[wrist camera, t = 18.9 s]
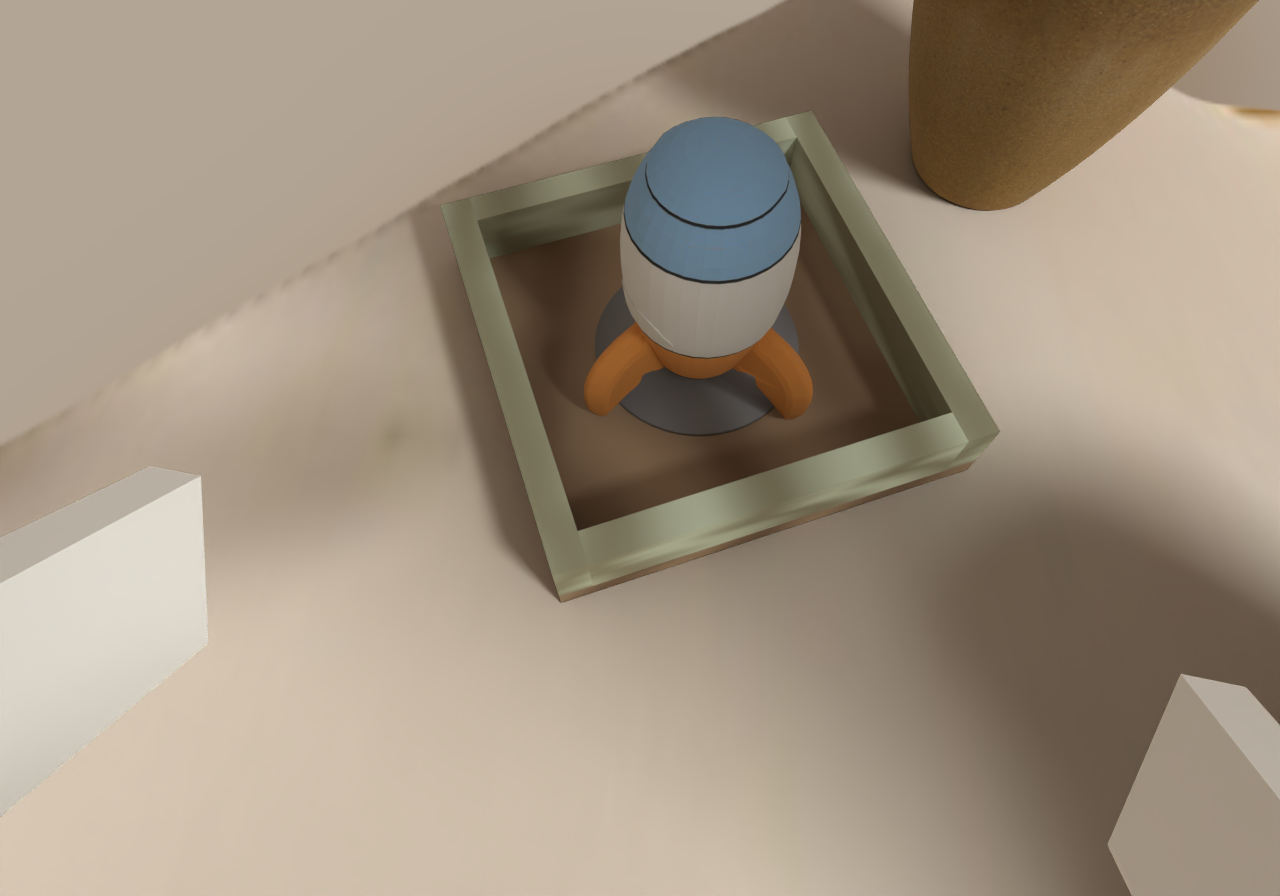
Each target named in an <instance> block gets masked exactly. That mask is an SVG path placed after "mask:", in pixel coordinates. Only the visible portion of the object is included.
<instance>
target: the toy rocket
mask: <svg viewBox="0 0 1280 896" xmlns="http://www.w3.org/2000/svg"><path fill="white" fill-rule="evenodd" d="M800 239H801V208H800V199H799V194H798V191H797V187H796V184H795V180H794V177H793V174H792V171H791V169H790V167H789V165H788V163H787V160H786V157H785V155H784V153H783V152H782V150H781V148H780V147H779V146H778V144H777V143H776V142H775V141H774V140H773V139H772V138H771V137H770V136H768V135H767V134H766V133H765V132H763V131H762V130H760V129H758V128H756V127H754V126H752V125H750V124H748V123H745V122H742V121H739V120H736V119H731V118H726V117H706V118H699V119H695V120H691V121H687V122H684V123H682V124H679V125H677V126H675V127H673V128H671V129H670V130H668V131H667V132H665V133H664V134H663V135H662V136H661V138H660V139H659V140H658V141H657V143H656V144H655V145H654V146H653V148H652V149H651V150H650V151H649V152H648V153H647V154H646V156H645V157H644V159H643V160H642V162H641V164H640V165H639V167H638V169H637V171H636V172H635V174H634V176H633V178H632V181H631V184H630V187H629V190H628V192H627V195H626V198H625V201H624V207H623V212H622V221H621V233H620V256H621V268H622V275H623V279H622V285H623V290H624V295H625V300H626V303H627V306H628V308H629V311H630V313H631V315H632V316H633V318H634V320H635V323H634V324H633V325H632V326H630V327H629V328H628V329H627V330H626V331H624V332H623V333H622V334H621V335H620V336H618V337H617V338H616V339H615V340H614V341H613V342H612V343H611V344H610V345H609V346H608V347H607V348H606V350H605V351H604V352H603V353H602V354H601V355H600V357H599V358H598V359H597V361H596V362H595V363H594V365H593V366H592V368H591V370H590V372H589V373H588V376H587V379H586V382H585V385H584V399H585V402H586V405H587V408H588V409H589V410H590V411H592V412H593V413H595V414H596V415H599V416H606V415H607V414H608V413H609V412H610V411H611V410H612V409H613V408H614V407H615V406H616V405H617V404H618V403H619V402H620V401H621V400H622V399H623V398H624V397H625V396H626V395H627V394H628V393H629V392H630V391H632V390H633V389H634V388H635V387H636V386H637V385H638V384H639V383H640V381H641V379H642V376H643V375H644V374H645V373H648V372H650V371H654V370H660V369H661V368H663V367H666V368H667V369H669V370H670V371H672V372H673V373H676V374H678V375H681V376H683V377H685V378H689V379H698V380H699V379H705V378H712V377H715V376H718V375H721V374H723V373H725V372H727V371H729V370H731V369H732V368H734V369H735V370H737V371H739V372H745V373H748V374H750V375H752V376H754V377H755V379H756V385H757V387H758V388H759V389H760V390H761V392H762V393H763V394H764V395H765V396H766V397H767V398H768V399H769V400H770V401H771V403H772V404H773V405H774V406H775V408H776V409H777V410H778V411H779V413H780V414H781V415H782V416H783V418H784V419H785V420H792V419H795V418H797V417H799V416H801V415H803V414H804V413H805V411H806V410H807V408H808V406H809V405H810V403H811V401H812V395H813V385H812V380H811V377H810V375H809V372H808V370H807V367H806V366H805V364H804V363H803V361H802V359H801V358H800V356H799V355H798V354H797V353H796V352H795V350H794V349H793V348H792V347H791V346H790V345H789V344H788V343H787V342H786V341H785V340H784V339H783V338H782V337H781V336H780V335H779V334H778V333H776V332H775V331H774V330H773V329H772V328H771V327H772V325H773V324H774V323H775V321H776V319H777V317H778V315H779V313H780V311H781V309H782V307H783V304H784V302H785V300H786V298H787V296H788V293H789V290H790V287H791V284H792V280H793V277H794V272H795V268H796V263H797V259H798V254H799V248H800Z"/></svg>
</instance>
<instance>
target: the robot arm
mask: <svg viewBox="0 0 1280 896" xmlns="http://www.w3.org/2000/svg"><path fill="white" fill-rule="evenodd" d="M207 644H208V624H207V602H206V579H205V556H204V534H203V511H202V488H201V476H200V475H195V474H190V473H185V472H180V471H175V470H170V469H165V468H160V467H155V466H149V467H147V468H145V469H143V470H140V471H138V472H136V473H134V474H132V475H130V476H128V477H126V478H124V479H122V480H119V481H117V482H115V483H113V484H111V485H109V486H107V487H105V488H103V489H101V490H99V491H96V492H94V493H92V494H90V495H88V496H86V497H84V498H82V499H80V500H78V501H75V502H73V503H71V504H69V505H67V506H65V507H63V508H61V509H59V510H57V511H55V512H52V513H50V514H48V515H46V516H44V517H42V518H40V519H38V520H36V521H34V522H31V523H29V524H27V525H25V526H23V527H21V528H19V529H17V530H15V531H13V532H11V533H8V534H6V535H4V536H2V537H0V817H1V816H3V815H4V814H5V813H6V812H7V811H8V810H10V809H11V808H12V807H13V806H14V805H16V804H17V803H18V802H19V801H20V800H22V799H23V798H24V797H25V796H26V795H28V794H29V793H30V792H31V791H32V790H34V789H35V788H36V787H37V786H38V785H40V784H41V783H42V782H43V781H44V780H46V779H47V778H48V777H49V776H50V775H52V774H53V773H54V772H55V771H56V770H58V769H59V768H60V767H61V766H62V765H63V764H65V763H66V762H67V761H68V760H69V759H71V758H72V757H73V756H74V755H75V754H77V753H78V752H79V751H80V750H81V749H83V748H84V747H85V746H86V745H87V744H89V743H90V742H91V741H92V740H93V739H95V738H96V737H97V736H98V735H99V734H101V733H102V732H103V731H104V730H105V729H107V728H108V727H109V726H110V725H111V724H112V723H114V722H115V721H116V720H117V719H118V718H120V717H121V716H122V715H123V714H124V713H126V712H127V711H128V710H129V709H130V708H132V707H133V706H134V705H135V704H136V703H138V702H139V701H140V700H141V699H142V698H144V697H145V696H146V695H147V694H148V693H150V692H151V691H152V690H153V689H154V688H156V687H157V686H158V685H159V684H160V683H162V682H163V681H164V680H165V679H166V678H167V677H169V676H170V675H171V674H172V673H173V672H175V671H176V670H177V669H178V668H179V667H181V666H182V665H183V664H184V663H185V662H187V661H188V660H189V659H190V658H191V657H193V656H194V655H195V654H196V653H197V652H199V651H200V650H201V649H202V648H203V647H205V646H206V645H207ZM1107 845H1108V848H1109V850H1110V852H1111V854H1112V856H1113V858H1114V860H1115V862H1116V864H1117V866H1118V868H1119V870H1120V872H1121V875H1122V877H1123V879H1124V881H1125V883H1126V885H1127V887H1128V889H1129V891H1130V893H1131V895H1132V896H1280V725H1279V724H1278V722H1277V721H1276V720H1275V719H1274V718H1273V717H1272V716H1271V715H1270V713H1269V712H1268V711H1267V710H1266V709H1265V708H1264V707H1263V706H1262V705H1261V703H1260V702H1259V701H1258V700H1257V699H1256V698H1255V697H1254V696H1253V694H1252V693H1251V692H1250V691H1249V690H1248V689H1247V688H1246V687H1244V686H1239V685H1234V684H1229V683H1224V682H1219V681H1214V680H1209V679H1204V678H1199V677H1194V676H1189V675H1184V674H1180V677H1179V679H1178V681H1177V684H1176V686H1175V688H1174V691H1173V693H1172V695H1171V697H1170V700H1169V702H1168V704H1167V707H1166V709H1165V711H1164V714H1163V716H1162V718H1161V721H1160V723H1159V725H1158V728H1157V730H1156V732H1155V735H1154V737H1153V739H1152V742H1151V744H1150V746H1149V749H1148V751H1147V753H1146V756H1145V758H1144V760H1143V763H1142V765H1141V767H1140V770H1139V772H1138V774H1137V777H1136V779H1135V781H1134V784H1133V786H1132V788H1131V791H1130V793H1129V795H1128V798H1127V800H1126V802H1125V805H1124V807H1123V809H1122V812H1121V814H1120V816H1119V819H1118V821H1117V823H1116V826H1115V828H1114V830H1113V833H1112V835H1111V837H1110V840H1109V842H1108V844H1107Z"/></svg>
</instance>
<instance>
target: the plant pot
mask: <svg viewBox="0 0 1280 896" xmlns="http://www.w3.org/2000/svg"><path fill="white" fill-rule="evenodd" d="M1258 1H1259V0H914V3H913V13H912V25H911V39H910V57H909V121H910V136H911V148H912V159H913V163H914V166H915V168H916V170H917V172H918V174H919V176H920V177H921V179H922V180H923V181H924V182H925V183H926V184H927V186H928V187H930V188H931V189H932V190H933V191H934V192H935V193H936V194H938V195H939V196H941V197H943V198H944V199H946V200H948V201H950V202H953V203H955V204H957V205H960V206H963V207H967V208H972V209H976V210H1000V209H1006V208H1010V207H1013V206H1015V205H1018V204H1020V203H1022V202H1024V201H1026V200H1027V199H1029V198H1030V197H1032V196H1033V195H1035V194H1036V193H1038V192H1039V191H1041V190H1042V189H1044V188H1045V187H1047V186H1048V185H1050V184H1051V183H1053V182H1054V181H1056V180H1057V179H1059V178H1060V177H1061V176H1063V175H1064V174H1066V173H1067V172H1069V171H1070V170H1071V169H1073V168H1074V167H1075V166H1077V165H1078V164H1079V163H1081V162H1082V161H1083V160H1085V159H1086V158H1087V157H1089V156H1090V155H1091V154H1093V153H1094V152H1095V151H1096V150H1098V149H1099V148H1100V147H1101V146H1103V145H1104V144H1105V143H1106V142H1108V141H1109V140H1110V139H1111V138H1113V137H1114V136H1115V135H1116V134H1118V133H1119V132H1120V131H1121V130H1122V129H1124V128H1125V127H1126V126H1127V125H1128V124H1130V123H1131V122H1132V121H1133V120H1134V119H1136V118H1137V117H1138V116H1139V115H1140V114H1141V113H1142V112H1144V111H1145V110H1146V109H1147V108H1148V107H1149V106H1151V105H1152V104H1153V103H1154V102H1155V101H1156V100H1157V99H1158V98H1159V97H1161V96H1162V95H1163V94H1164V93H1165V92H1166V91H1167V90H1168V89H1169V88H1171V87H1172V86H1173V85H1174V84H1175V83H1176V82H1177V81H1178V80H1179V79H1180V78H1181V77H1182V76H1183V75H1185V73H1186V72H1188V70H1190V69H1191V68H1192V67H1193V66H1194V65H1195V64H1196V63H1197V62H1198V61H1199V60H1200V59H1201V58H1202V57H1203V56H1205V54H1206V53H1207V52H1209V50H1211V49H1212V48H1213V47H1214V45H1215V44H1216V43H1217V42H1218V41H1219V40H1220V39H1221V38H1222V37H1223V36H1224V35H1225V34H1226V33H1227V32H1228V31H1229V30H1230V29H1231V28H1232V27H1233V26H1234V25H1235V24H1236V23H1237V22H1238V21H1239V20H1240V19H1241V18H1242V17H1243V16H1244V15H1245V14H1246V13H1247V12H1248V11H1249V10H1250V9H1251V8H1252V7H1253V6H1254V5H1255V4H1256V3H1257V2H1258Z"/></svg>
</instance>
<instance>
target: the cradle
mask: <svg viewBox="0 0 1280 896" xmlns="http://www.w3.org/2000/svg"><path fill="white" fill-rule="evenodd" d="M753 126H754V127H756V128H758V129H760V130H762V131H763V132H765V133H766V134H767V135H768V136H770V137H771V138H772V139H773V140H774V141H775V142H776V143H777V144H778V146H779V147H780V148H781V150H782V152H783V153H784V155H785V157H786V160H787V163H788V165H789V167H790V169H791V171H792V174H793V177H794V180H795V184H796V187H797V191H798V194H799V199H800V208H801V239H800V248H799V254H798V259H797V263H796V268H795V272H794V277H793V280H792V284H791V287H790V290H789V293H788V296H787V298H786V300H785V302H784V304H783V307H782V309H781V311H780V313H779V315H778V317H777V319H776V321H775V323H774V324H773V325H772V327H771V328H772V329H773V330H774V331H775V332H776V333H778V334H779V335H780V336H781V337H782V338H783V339H784V340H785V341H786V342H787V343H788V344H789V345H790V346H791V347H792V348H793V349H794V350H795V352H796V353H797V354H798V355H799V356H800V358H801V359H802V361H803V363H804V364H805V366H806V367H807V370H808V372H809V375H810V377H811V380H812V385H813V395H812V401H811V403H810V405H809V406H808V408H807V410H806V411H805V413H804V414H803V415H801V416H799V417H797V418H795V419H792V420H785V419H784V418H783V416H782V415H781V414H780V413H779V411H778V410H777V409H776V408H775V406H774V405H773V404H772V403H771V401H770V400H769V399H768V398H767V397H766V396H765V395H764V394H763V393H762V392H761V390H760V389H759V388H758V387H757V385H756V379H755V377H754V376H752V375H750V374H748V373H745V372H739V371H737V370H735V369H734V368H732V369H731V370H729V371H727V372H725V373H723V374H721V375H718V376H715V377H712V378H705V379H699V380H698V379H689V378H685V377H683V376H681V375H678V374H676V373H673V372H672V371H670V370H669V369H667V368H666V367H663V368H661V369H660V370H654V371H650V372H648V373H645V374H644V375H643V376H642V379H641V381H640V383H639V384H638V385H637V386H636V387H635V388H634V389H633V390H632V391H630V392H629V393H628V394H627V395H626V396H625V397H624V398H623V399H622V400H621V401H620V402H619V403H618V404H617V405H616V406H615V407H614V408H613V409H612V410H611V411H610V412H609V413H608V414H607V415H606V416H599V415H596V414H595V413H593V412H592V411H590V410H589V409H588V408H587V405H586V402H585V399H584V385H585V382H586V379H587V376H588V373H589V372H590V370H591V368H592V366H593V365H594V363H595V362H596V361H597V359H598V358H599V357H600V355H601V354H602V353H603V352H604V351H605V350H606V348H607V347H608V346H609V345H610V344H611V343H612V342H613V341H614V340H615V339H616V338H617V337H618V336H620V335H621V334H622V333H623V332H624V331H626V330H627V329H628V328H629V327H630V326H632V325H633V324H634V323H635V320H634V318H633V316H632V315H631V313H630V311H629V308H628V306H627V303H626V300H625V295H624V290H623V285H622V279H623V275H622V268H621V256H620V233H621V221H622V212H623V207H624V201H625V198H626V195H627V192H628V190H629V187H630V184H631V181H632V178H633V176H634V174H635V172H636V171H637V169H638V167H639V165H640V164H641V162H642V160H643V159H644V157H645V156H646V154H647V153H648V152H647V153H643V154H639V155H635V156H632V157H628V158H624V159H620V160H616V161H612V162H608V163H604V164H600V165H596V166H592V167H589V168H585V169H581V170H577V171H573V172H569V173H565V174H561V175H557V176H553V177H549V178H545V179H542V180H538V181H534V182H530V183H526V184H522V185H518V186H514V187H510V188H506V189H502V190H499V191H495V192H491V193H487V194H483V195H479V196H475V197H471V198H467V199H463V200H459V201H456V202H452V203H448V204H444V205H440V206H441V210H442V213H443V216H444V220H445V223H446V226H447V230H448V233H449V236H450V240H451V243H452V246H453V249H454V253H455V256H456V259H457V263H458V266H459V269H460V273H461V276H462V279H463V283H464V286H465V289H466V292H467V296H468V299H469V302H470V306H471V309H472V312H473V316H474V319H475V322H476V326H477V329H478V332H479V335H480V339H481V342H482V345H483V349H484V352H485V355H486V359H487V362H488V365H489V369H490V372H491V375H492V378H493V382H494V385H495V388H496V392H497V395H498V398H499V402H500V405H501V408H502V412H503V415H504V418H505V421H506V425H507V428H508V431H509V435H510V438H511V441H512V445H513V448H514V451H515V454H516V458H517V461H518V464H519V468H520V471H521V474H522V478H523V481H524V484H525V488H526V491H527V494H528V497H529V501H530V504H531V507H532V511H533V514H534V517H535V521H536V524H537V527H538V531H539V534H540V537H541V540H542V544H543V547H544V550H545V554H546V557H547V560H548V564H549V567H550V570H551V574H552V577H553V580H554V583H555V586H556V589H557V592H558V595H559V598H560V601H561V603H562V602H565V601H568V600H571V599H575V598H578V597H581V596H584V595H587V594H590V593H593V592H596V591H599V590H602V589H605V588H608V587H611V586H614V585H617V584H620V583H623V582H626V581H629V580H632V579H635V578H638V577H641V576H645V575H648V574H651V573H654V572H657V571H660V570H663V569H666V568H669V567H672V566H675V565H678V564H681V563H684V562H687V561H690V560H693V559H696V558H699V557H702V556H705V555H708V554H711V553H714V552H718V551H721V550H724V549H727V548H730V547H733V546H736V545H739V544H742V543H745V542H748V541H751V540H754V539H757V538H760V537H763V536H766V535H769V534H772V533H775V532H778V531H781V530H784V529H788V528H791V527H794V526H797V525H800V524H803V523H806V522H809V521H812V520H815V519H818V518H821V517H824V516H827V515H830V514H833V513H836V512H839V511H842V510H845V509H848V508H851V507H854V506H858V505H861V504H864V503H867V502H870V501H873V500H876V499H879V498H882V497H885V496H888V495H891V494H894V493H897V492H900V491H903V490H906V489H909V488H912V487H915V486H918V485H921V484H924V483H928V482H931V481H934V480H937V479H940V478H943V477H946V476H949V475H952V474H955V473H958V472H961V471H964V470H967V469H968V468H969V467H970V466H971V464H972V463H973V462H974V461H975V460H976V459H977V458H978V456H979V455H980V454H981V453H982V452H983V451H984V450H985V448H986V447H987V446H988V445H989V444H990V443H991V441H992V440H993V439H994V438H995V437H996V436H997V435H998V433H999V432H1000V431H999V429H998V427H997V426H996V424H995V422H994V420H993V419H992V417H991V415H990V414H989V412H988V410H987V409H986V407H985V405H984V403H983V402H982V400H981V398H980V397H979V395H978V393H977V391H976V390H975V388H974V386H973V385H972V383H971V381H970V380H969V378H968V376H967V374H966V373H965V371H964V369H963V368H962V366H961V364H960V362H959V361H958V359H957V357H956V356H955V354H954V352H953V351H952V349H951V347H950V345H949V344H948V342H947V340H946V339H945V337H944V335H943V334H942V332H941V330H940V328H939V327H938V325H937V323H936V322H935V320H934V318H933V316H932V315H931V313H930V311H929V310H928V308H927V306H926V305H925V303H924V301H923V299H922V298H921V296H920V294H919V293H918V291H917V289H916V287H915V286H914V284H913V282H912V281H911V279H910V277H909V276H908V274H907V272H906V270H905V269H904V267H903V265H902V264H901V262H900V260H899V258H898V257H897V255H896V253H895V252H894V250H893V248H892V247H891V245H890V243H889V241H888V240H887V238H886V236H885V235H884V233H883V231H882V229H881V228H880V226H879V224H878V223H877V221H876V219H875V218H874V216H873V214H872V212H871V211H870V209H869V207H868V206H867V204H866V202H865V201H864V199H863V197H862V195H861V194H860V192H859V190H858V189H857V187H856V185H855V183H854V182H853V180H852V178H851V177H850V175H849V173H848V172H847V170H846V168H845V166H844V165H843V163H842V161H841V160H840V158H839V156H838V154H837V153H836V151H835V149H834V148H833V146H832V144H831V143H830V141H829V139H828V137H827V136H826V134H825V132H824V131H823V129H822V127H821V125H820V124H819V122H818V120H817V119H816V117H815V115H814V114H813V112H812V111H808V112H804V113H800V114H796V115H792V116H788V117H784V118H780V119H776V120H772V121H769V122H765V123H761V124H757V125H753Z"/></svg>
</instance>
